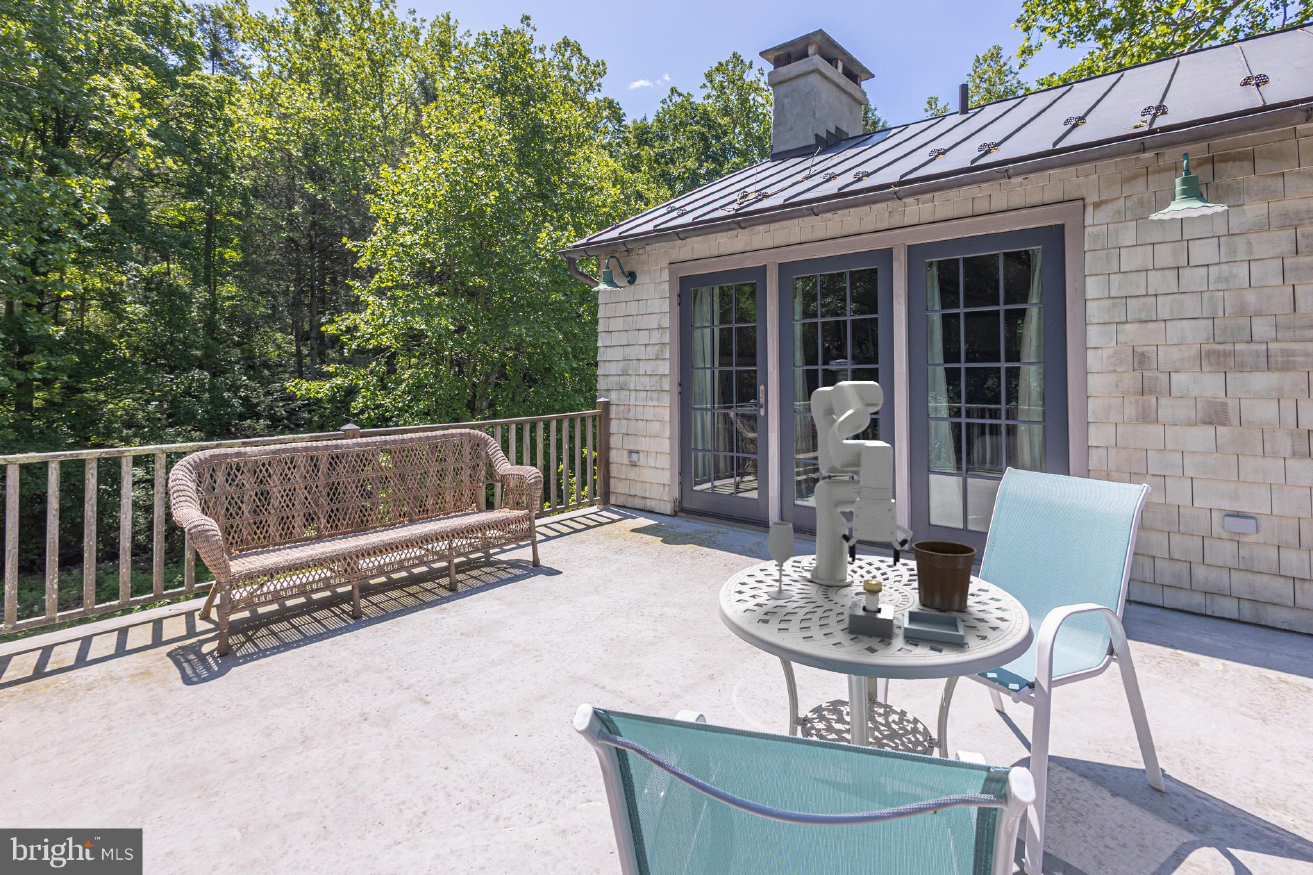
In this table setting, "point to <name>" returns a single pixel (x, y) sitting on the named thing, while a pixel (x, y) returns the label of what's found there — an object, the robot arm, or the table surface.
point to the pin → (872, 594)
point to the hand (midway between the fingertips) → (874, 562)
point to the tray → (933, 628)
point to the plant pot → (943, 573)
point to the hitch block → (871, 620)
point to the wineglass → (781, 551)
